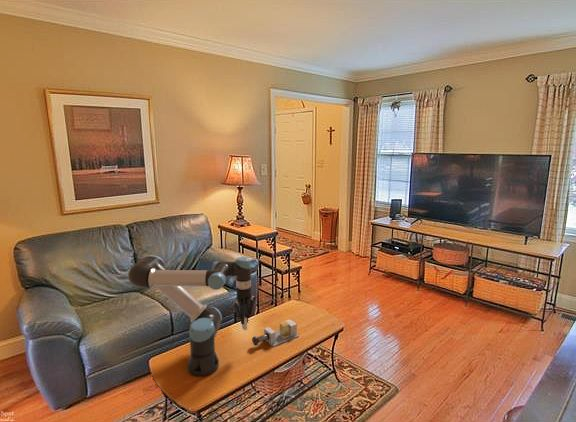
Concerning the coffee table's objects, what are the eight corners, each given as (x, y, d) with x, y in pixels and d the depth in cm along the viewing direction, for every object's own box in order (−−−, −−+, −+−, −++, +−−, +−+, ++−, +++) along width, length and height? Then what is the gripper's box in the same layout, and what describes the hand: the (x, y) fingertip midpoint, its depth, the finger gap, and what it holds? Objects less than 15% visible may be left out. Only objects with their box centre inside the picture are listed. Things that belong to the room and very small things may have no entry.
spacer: (283, 337, 195) (283, 326, 194) (279, 334, 199) (279, 323, 197) (289, 335, 198) (289, 323, 197) (285, 331, 201) (285, 321, 200)
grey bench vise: (273, 347, 187) (273, 335, 186) (262, 338, 196) (262, 326, 195) (298, 336, 198) (298, 325, 196) (287, 328, 207) (287, 317, 205)
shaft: (256, 347, 185) (256, 339, 184) (252, 343, 188) (252, 335, 187) (275, 339, 192) (275, 332, 191) (270, 336, 195) (270, 328, 194)
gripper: (235, 292, 170) (237, 335, 174) (258, 286, 177) (258, 328, 182) (229, 287, 176) (230, 329, 180) (251, 281, 183) (251, 322, 188)
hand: (244, 328), depth 181 cm, fingers closed
